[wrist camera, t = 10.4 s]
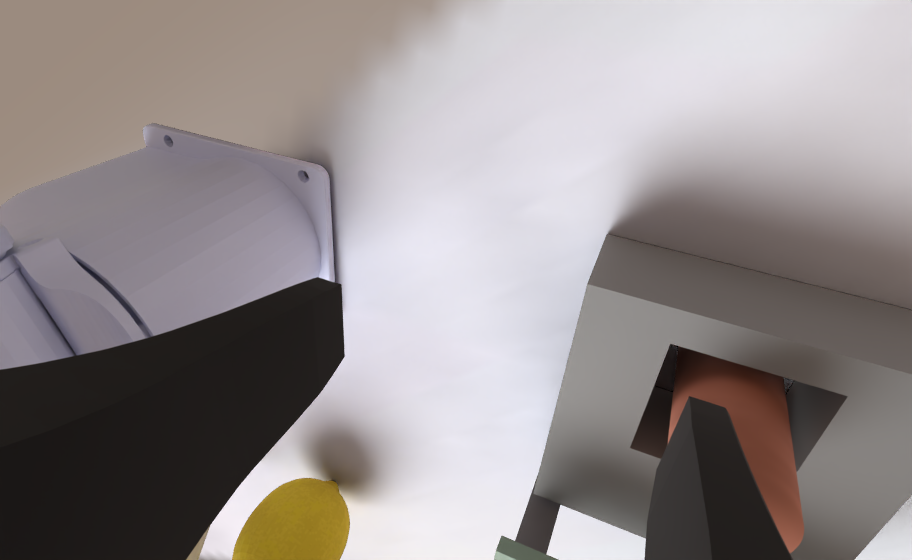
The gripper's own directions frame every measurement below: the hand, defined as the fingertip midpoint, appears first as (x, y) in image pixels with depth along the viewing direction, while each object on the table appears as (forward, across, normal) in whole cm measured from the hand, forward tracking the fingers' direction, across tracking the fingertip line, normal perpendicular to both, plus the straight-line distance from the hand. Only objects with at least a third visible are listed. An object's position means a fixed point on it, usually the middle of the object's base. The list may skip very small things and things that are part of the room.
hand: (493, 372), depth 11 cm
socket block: (+9, -6, +7) cm, 13 cm away
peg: (+9, -6, +4) cm, 12 cm away
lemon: (+10, +11, +22) cm, 26 cm away
